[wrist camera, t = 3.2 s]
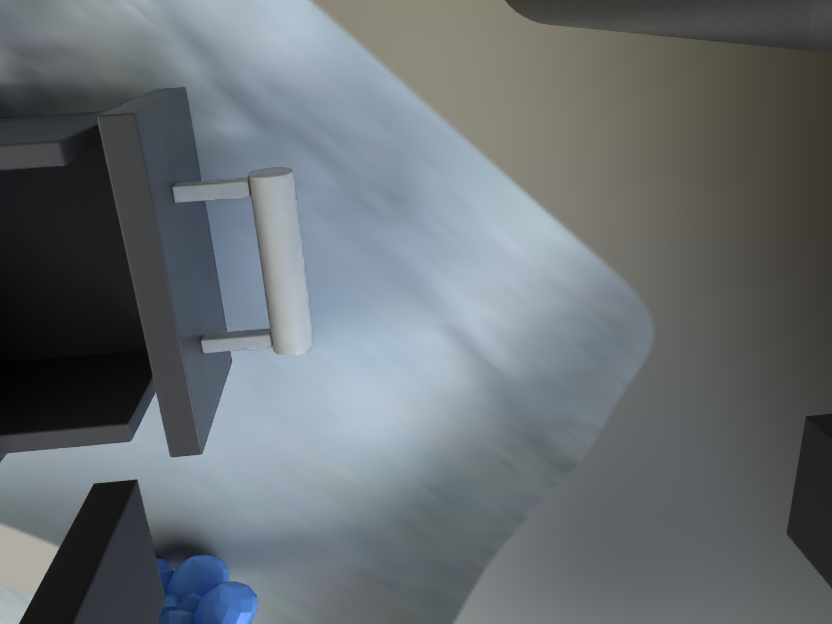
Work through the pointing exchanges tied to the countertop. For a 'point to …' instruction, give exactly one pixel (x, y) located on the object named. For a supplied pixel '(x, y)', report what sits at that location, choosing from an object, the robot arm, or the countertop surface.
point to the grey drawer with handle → (127, 277)
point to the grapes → (204, 594)
